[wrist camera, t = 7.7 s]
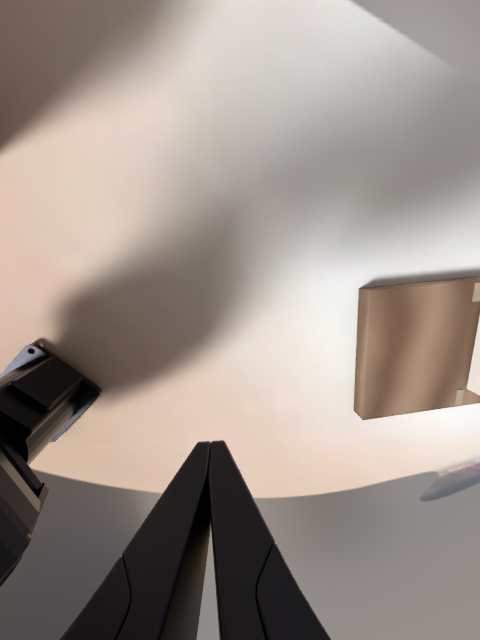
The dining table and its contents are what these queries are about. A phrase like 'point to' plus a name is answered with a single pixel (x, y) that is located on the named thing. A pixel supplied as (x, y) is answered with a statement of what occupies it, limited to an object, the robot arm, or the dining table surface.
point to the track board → (415, 347)
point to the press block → (475, 365)
